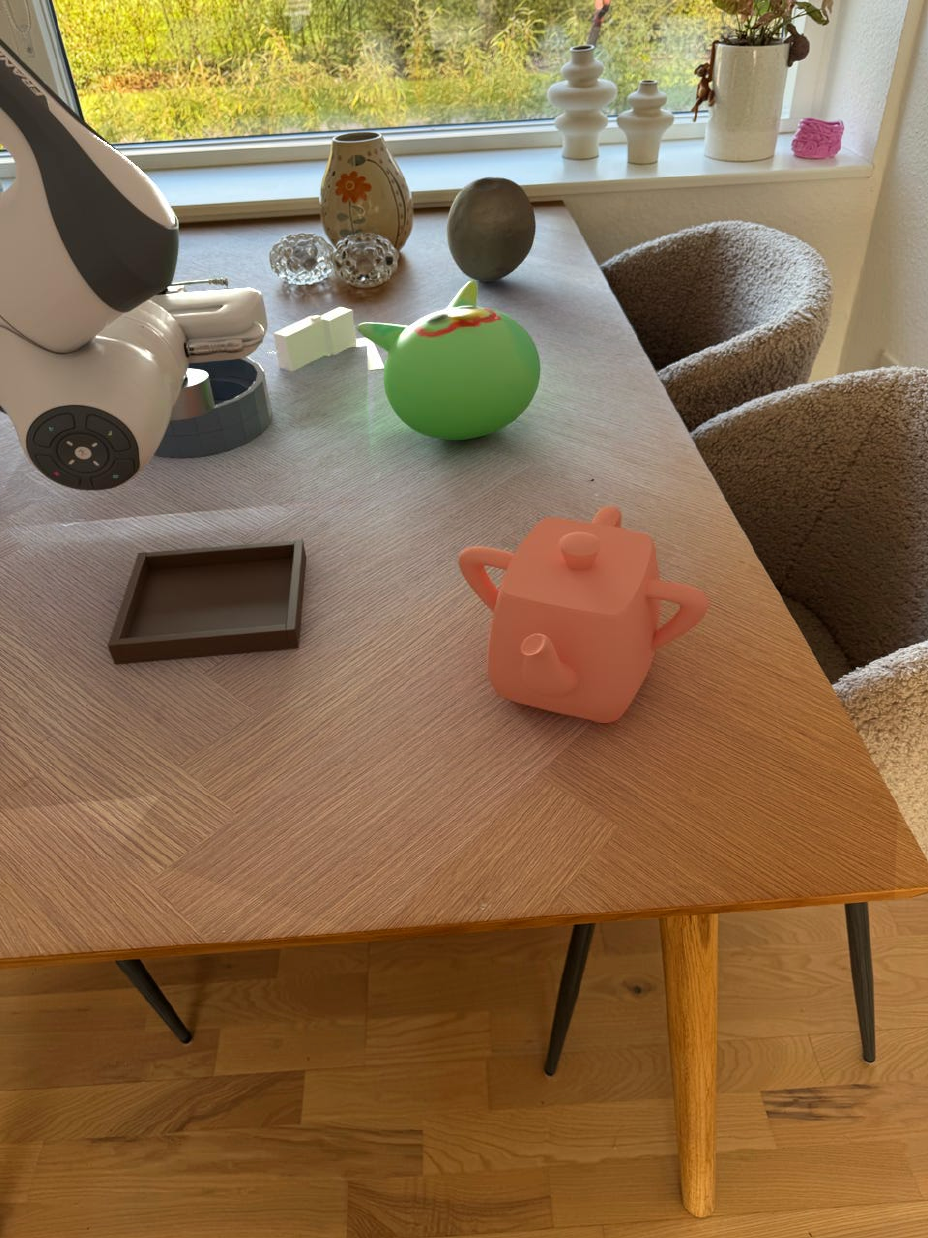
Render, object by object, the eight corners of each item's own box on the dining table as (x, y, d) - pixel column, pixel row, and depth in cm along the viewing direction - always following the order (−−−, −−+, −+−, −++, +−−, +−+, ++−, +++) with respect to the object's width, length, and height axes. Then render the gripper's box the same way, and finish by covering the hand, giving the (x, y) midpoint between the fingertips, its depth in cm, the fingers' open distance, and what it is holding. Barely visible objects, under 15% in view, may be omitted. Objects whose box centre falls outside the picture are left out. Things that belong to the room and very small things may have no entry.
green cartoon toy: (435, 480, 100) (426, 349, 90) (360, 422, 111) (346, 301, 101) (566, 431, 107) (570, 306, 98) (484, 382, 118) (481, 265, 109)
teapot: (603, 596, 83) (612, 466, 74) (715, 704, 71) (739, 567, 63) (434, 655, 77) (423, 524, 69) (526, 783, 66) (526, 644, 58)
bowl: (119, 467, 105) (104, 419, 101) (146, 402, 118) (133, 357, 114) (266, 456, 105) (257, 407, 102) (277, 392, 118) (268, 347, 114)
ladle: (142, 422, 86) (85, 201, 76) (161, 399, 91) (110, 189, 81) (206, 419, 86) (157, 197, 76) (221, 396, 91) (177, 185, 81)
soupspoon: (90, 305, 148) (91, 321, 143) (83, 284, 146) (84, 300, 141) (227, 279, 152) (232, 294, 148) (222, 259, 150) (227, 273, 145)
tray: (114, 664, 78) (107, 645, 77) (143, 570, 89) (138, 552, 87) (298, 648, 79) (295, 629, 77) (306, 557, 89) (303, 539, 88)
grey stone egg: (433, 290, 144) (427, 188, 135) (468, 262, 154) (465, 164, 145) (518, 300, 140) (518, 194, 130) (548, 269, 150) (550, 169, 140)
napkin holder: (273, 384, 120) (265, 341, 117) (265, 351, 129) (258, 310, 125) (385, 367, 123) (381, 325, 119) (371, 336, 131) (366, 296, 128)
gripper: (253, 307, 71) (267, 251, 82) (-15, 327, 71) (35, 269, 81) (268, 383, 75) (279, 321, 86) (14, 404, 75) (58, 338, 85)
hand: (159, 296), depth 84 cm, fingers closed on ladle, 2 cm apart
